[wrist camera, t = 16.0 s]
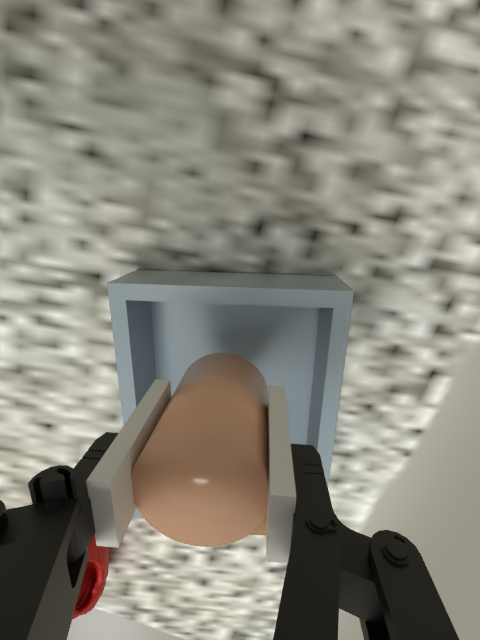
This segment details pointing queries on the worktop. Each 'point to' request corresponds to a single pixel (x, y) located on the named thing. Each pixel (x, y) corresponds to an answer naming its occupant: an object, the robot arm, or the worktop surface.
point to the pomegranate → (92, 578)
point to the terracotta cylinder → (208, 455)
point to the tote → (237, 337)
